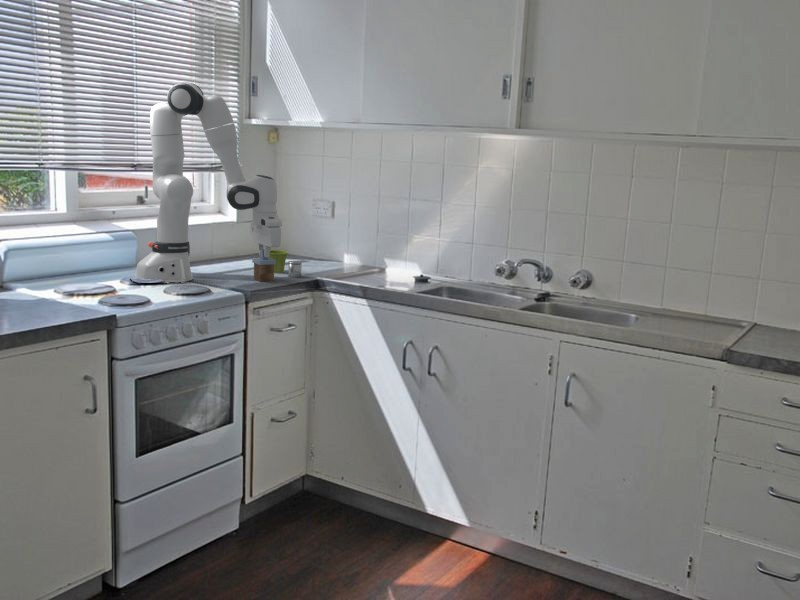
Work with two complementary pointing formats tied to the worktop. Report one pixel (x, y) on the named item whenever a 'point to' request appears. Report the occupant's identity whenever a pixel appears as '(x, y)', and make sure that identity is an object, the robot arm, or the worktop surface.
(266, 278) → the canister
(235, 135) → the robot arm
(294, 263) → the tin
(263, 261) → the lid
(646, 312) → the worktop surface
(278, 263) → the plant pot
